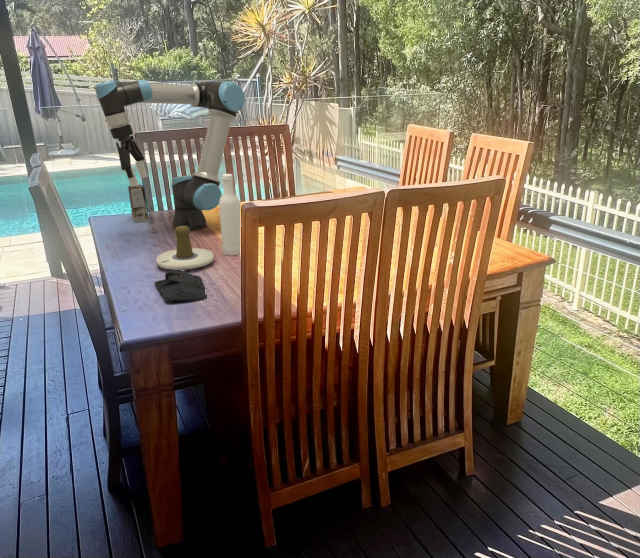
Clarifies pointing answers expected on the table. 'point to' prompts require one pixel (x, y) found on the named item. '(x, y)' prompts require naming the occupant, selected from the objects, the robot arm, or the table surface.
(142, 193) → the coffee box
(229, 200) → the bottle
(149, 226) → the table surface
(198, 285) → the dark grey folded cloth
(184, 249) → the cork
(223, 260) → the table surface
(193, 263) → the turntable
